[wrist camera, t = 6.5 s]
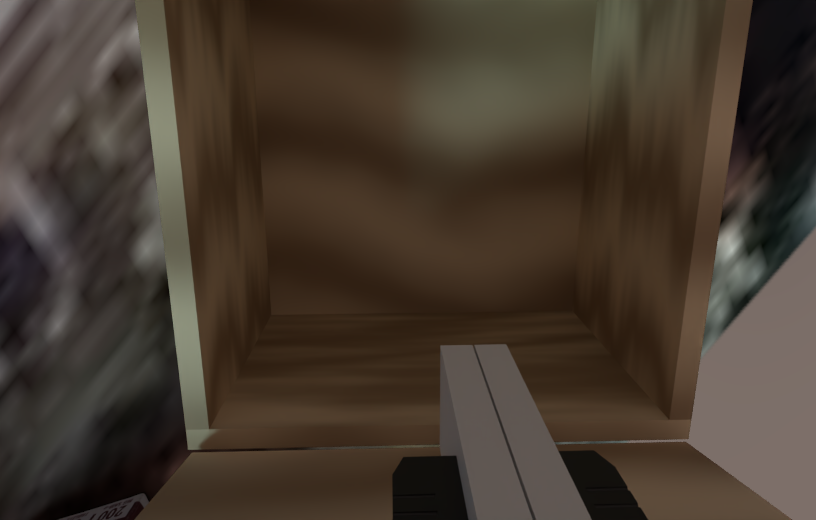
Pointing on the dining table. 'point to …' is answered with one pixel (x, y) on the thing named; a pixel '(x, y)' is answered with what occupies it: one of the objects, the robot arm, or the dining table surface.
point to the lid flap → (372, 468)
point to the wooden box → (438, 207)
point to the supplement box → (114, 510)
